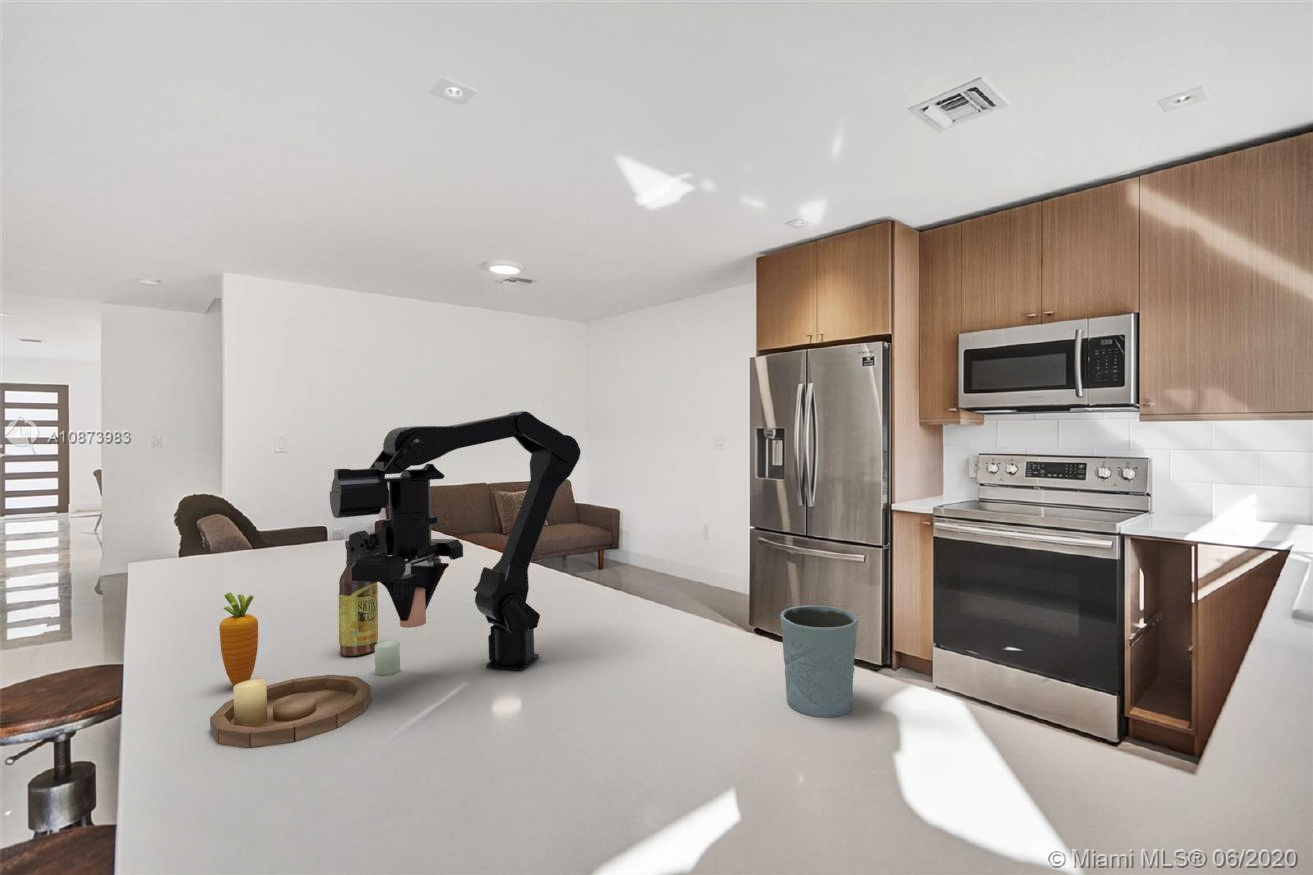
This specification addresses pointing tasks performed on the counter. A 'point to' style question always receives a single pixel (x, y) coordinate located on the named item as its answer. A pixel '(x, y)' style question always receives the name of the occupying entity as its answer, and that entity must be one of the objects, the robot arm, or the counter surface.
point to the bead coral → (416, 610)
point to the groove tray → (324, 719)
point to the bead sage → (387, 658)
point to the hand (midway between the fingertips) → (412, 616)
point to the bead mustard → (250, 703)
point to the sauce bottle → (357, 612)
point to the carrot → (239, 640)
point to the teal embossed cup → (819, 659)
